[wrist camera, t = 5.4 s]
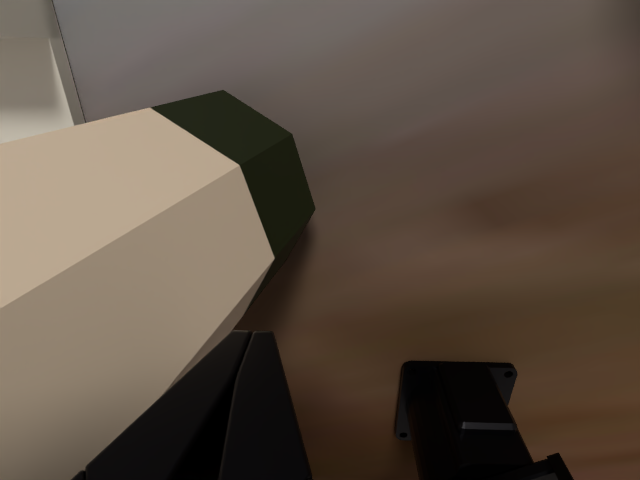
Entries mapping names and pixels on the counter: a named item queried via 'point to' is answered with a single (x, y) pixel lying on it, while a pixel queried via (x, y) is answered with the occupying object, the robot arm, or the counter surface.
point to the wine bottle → (130, 265)
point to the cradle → (34, 72)
